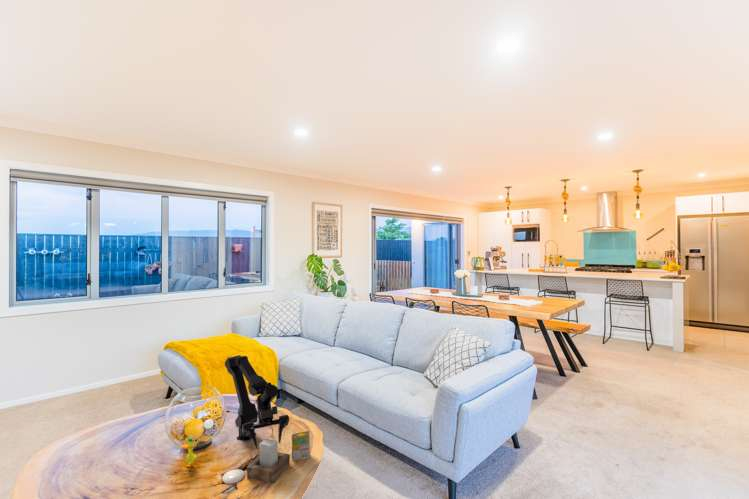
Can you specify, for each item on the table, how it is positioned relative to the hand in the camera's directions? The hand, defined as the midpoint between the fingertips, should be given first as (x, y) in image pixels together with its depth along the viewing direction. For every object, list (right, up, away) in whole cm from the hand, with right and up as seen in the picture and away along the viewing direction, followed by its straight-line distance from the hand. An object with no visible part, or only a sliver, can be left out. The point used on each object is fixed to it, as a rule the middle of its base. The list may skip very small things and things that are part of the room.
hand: (268, 445), depth 148 cm
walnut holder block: (+1, -9, -2) cm, 10 cm away
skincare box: (+1, -10, -2) cm, 10 cm away
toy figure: (-33, -10, +2) cm, 35 cm away
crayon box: (+12, -9, +8) cm, 17 cm away
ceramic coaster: (-12, -10, -5) cm, 16 cm away
